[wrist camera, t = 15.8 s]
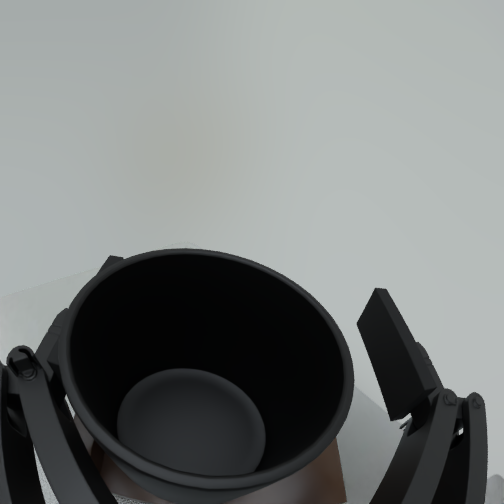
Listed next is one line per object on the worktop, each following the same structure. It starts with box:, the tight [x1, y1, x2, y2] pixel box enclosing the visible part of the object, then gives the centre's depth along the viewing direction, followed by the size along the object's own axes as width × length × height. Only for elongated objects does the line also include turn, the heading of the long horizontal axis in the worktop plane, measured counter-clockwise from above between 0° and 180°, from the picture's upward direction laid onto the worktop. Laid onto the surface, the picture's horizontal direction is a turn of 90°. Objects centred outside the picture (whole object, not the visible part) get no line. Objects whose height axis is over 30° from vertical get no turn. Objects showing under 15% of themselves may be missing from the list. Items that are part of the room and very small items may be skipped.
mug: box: [58, 248, 354, 504], centre depth 11 cm, size 9×12×9 cm
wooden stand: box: [73, 413, 347, 504], centre depth 15 cm, size 15×13×7 cm
